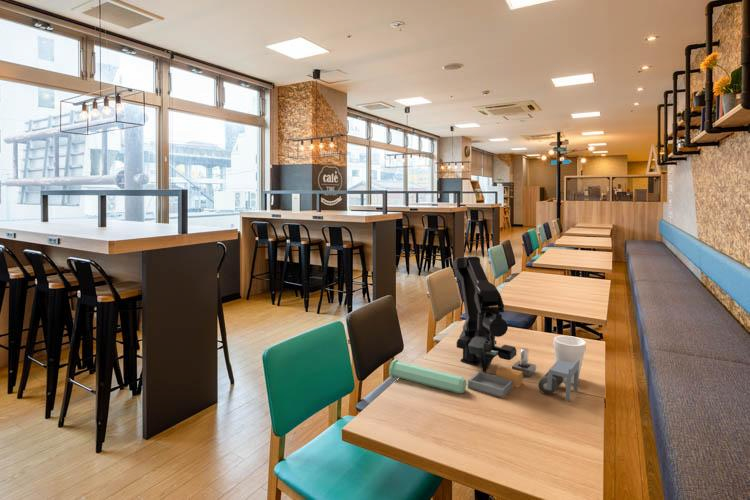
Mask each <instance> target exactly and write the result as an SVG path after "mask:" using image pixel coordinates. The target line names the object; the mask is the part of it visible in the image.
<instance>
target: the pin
mask: <svg viewBox="0 0 750 500" xmlns="http://www.w3.org/2000/svg"><path fill="white" fill-rule="evenodd" d="M529 351H530V350H529V349H528V348H525V347H524V348H522V347H521V348H520V360H519V361H520V367H524V368H528V363H529Z"/></svg>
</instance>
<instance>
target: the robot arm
mask: <svg viewBox="0 0 750 500" xmlns="http://www.w3.org/2000/svg"><path fill="white" fill-rule="evenodd" d="M452 269H453V270H454V273H455V276H456V277H457V279H458V280H459V281H460V283H461V291H462V293H461V294H462V298H463V306H464V312H465V321H464V323H463V325H462V331H461V333H460V335H459V338H458V339H457V340H456V345H455V346H456V348H457V349H461V350H462V358H461V359H460V362H463V363H466V364H470V365H474V366H479V365H480V367H481V370H482V372H483V373H487V372H488V369H489V368H490V365H491V363H492V361H493V359H494V358H495V357H497V356H498V358H500V359H503V360H506V361H511V360H513V358H515V357H516V356H517V352H518V351H517V348H516V347H515V346H512V345H509V344H503V345H502V346H501V347H500V346H497V345H496V344H497V340H496V337H497V338H499V337H504V335H506V334H507V332H508V329H509V326H508V322H507V321H506V320H505V319H503V315H502V314H501V313H504V312H505V310H504V308H505V305H504V301H503V299H502V294H501V293H500V292H499V290H498V288H497V286H496V285H494V284H493V283H492V282H490V281H489V279H488V277H487V275H486V273H485V271H484V268H483V266H482V264H481V259H480V256H477V255H476V256H475V255H473V256H471V255H470V256H469V255H468V256H458V257H457V256H456V257H455V259H454V260H453V261H452Z"/></svg>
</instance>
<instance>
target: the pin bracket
mask: <svg viewBox="0 0 750 500" xmlns="http://www.w3.org/2000/svg"><path fill="white" fill-rule="evenodd" d="M520 361H521V360H518V361H516V362H515V363H514V364H513V365H511V369H514V370H518V371H522V372H523V377H525V378H528V379H529V378H531V377H532V376H533V375H534V374H535V373H536V371H537V364H534V363H529V362H528V368H524V367H520Z"/></svg>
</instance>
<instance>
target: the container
mask: <svg viewBox="0 0 750 500" xmlns="http://www.w3.org/2000/svg"><path fill="white" fill-rule="evenodd" d="M388 370H389V371H388V375H389V377H391V378H399V379H402V380H406V381H411V382H413V383H417V384H420V385H421V384H422V385H424V386H430V387H433V388H437V389H440V390H445V391H448V392H452V393H456V394H464V392H465V391H466V387H467V380H466V378H465V377H463V376H461V375H455V374H452V373H448V372H443V371H439V370H435V369H431V368H427V367H424V366H423V367H422V366H419V365H414V364H410V363H407V362H402V361H399V359H396V358H395V359H393V360H392V361H391V362H390V364H389V367H388Z"/></svg>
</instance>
